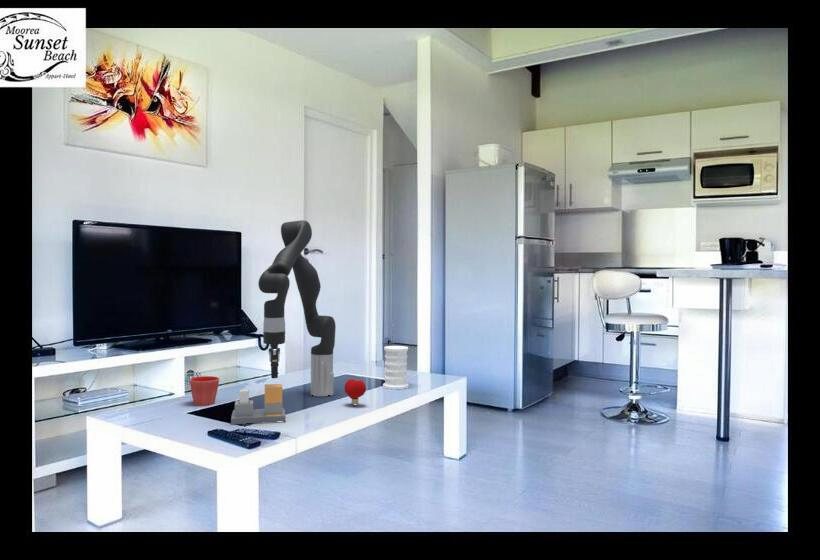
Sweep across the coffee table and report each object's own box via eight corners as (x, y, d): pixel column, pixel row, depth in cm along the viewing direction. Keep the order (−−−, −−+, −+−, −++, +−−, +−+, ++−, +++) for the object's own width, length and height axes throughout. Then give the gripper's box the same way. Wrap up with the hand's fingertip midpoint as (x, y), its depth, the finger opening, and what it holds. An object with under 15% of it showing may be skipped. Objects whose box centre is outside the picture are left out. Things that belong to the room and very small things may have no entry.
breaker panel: (284, 413, 216) (284, 397, 215) (285, 422, 204) (285, 404, 204) (233, 415, 211) (233, 399, 211) (230, 424, 200) (231, 406, 200)
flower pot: (221, 404, 228) (222, 379, 228) (192, 407, 223) (192, 382, 222) (216, 399, 237) (216, 375, 237) (187, 402, 232) (187, 377, 232)
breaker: (248, 404, 208) (248, 389, 208) (248, 406, 205) (248, 391, 205) (239, 405, 207) (240, 389, 207) (239, 407, 205) (239, 391, 204)
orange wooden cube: (281, 399, 212) (282, 383, 212) (282, 402, 206) (282, 387, 206) (264, 399, 211) (264, 384, 211) (264, 403, 205) (264, 387, 205)
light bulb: (369, 405, 230) (370, 379, 230) (358, 408, 224) (358, 382, 224) (351, 402, 235) (351, 377, 235) (339, 405, 229) (340, 379, 229)
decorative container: (380, 389, 261) (380, 348, 261) (385, 384, 273) (386, 345, 272) (406, 390, 259) (406, 349, 259) (410, 385, 271) (411, 346, 270)
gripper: (285, 332, 202) (285, 379, 202) (284, 327, 216) (284, 371, 216) (263, 332, 200) (263, 380, 201) (263, 328, 214) (263, 372, 215)
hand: (274, 375), depth 208 cm, fingers open, 8 cm apart
